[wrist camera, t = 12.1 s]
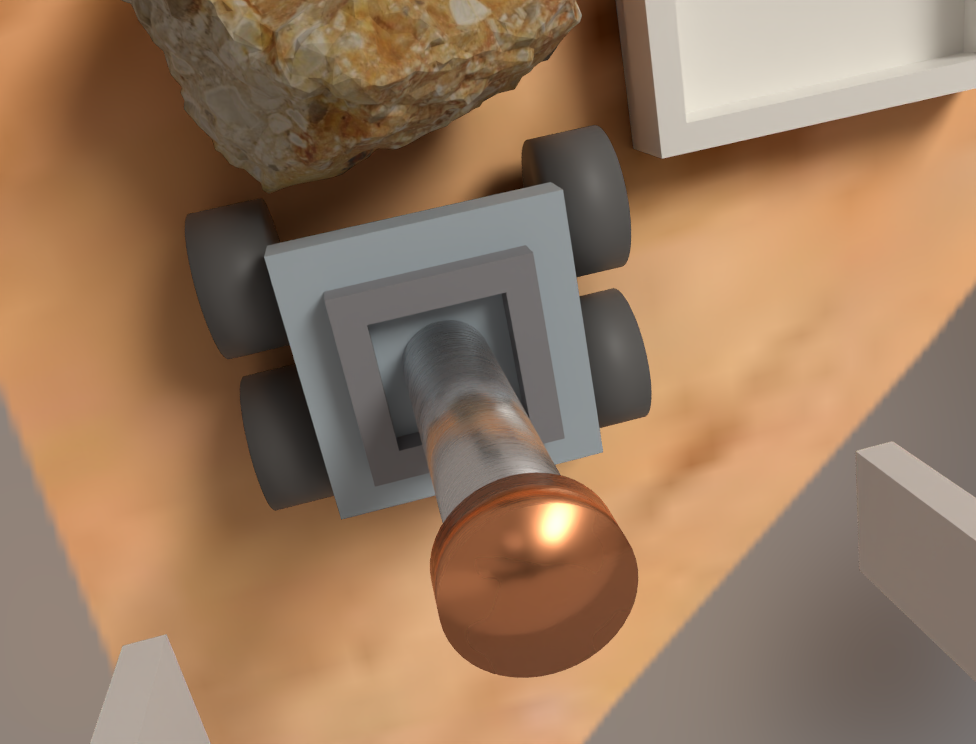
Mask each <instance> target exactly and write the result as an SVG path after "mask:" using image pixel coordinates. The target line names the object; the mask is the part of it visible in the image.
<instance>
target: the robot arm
mask: <svg viewBox="0 0 976 744" xmlns="http://www.w3.org/2000/svg"><path fill="white" fill-rule="evenodd" d="M856 478H857V479H856V481H857V511H858V540H859V570H860V571H861V572H862V573H863V574H864V575H865V576H866V577H867V578H868V579H869V580H870V581H871V582H872V583H873V584H874V585H875V586H876V587H877V588H878V589H879V590H881V591H882V592H883V593H884V594H885V595H886V596H887V597H888V598H889V599H890V600H891V601H892V602H893V603H894V604H895V605H896V606H897V607H898V608H899V609H900V610H901V611H902V612H903V613H904V614H906V616H908V617H909V618H910V619H911V620H912V621H913V622H914V623H915V624H916V625H917V626H918V627H919V628H920V629H921V630H922V631H923V632H924V633H925V634H926V635H927V636H928V637H929V638H931V640H933V641H934V642H935V643H936V644H937V645H938V646H939V647H940V648H941V649H942V650H943V651H944V652H945V653H946V654H947V655H948V656H949V657H950V658H951V659H952V660H953V661H954V662H955V663H957V665H959V666H960V667H961V668H962V669H963V670H964V671H965V672H966V673H967V674H968V675H969V676H970V677H971V678H972V679H973V680H974V681H976V498H975V497H974V496H972V495H971V494H969V493H968V492H966V491H965V490H963V489H961V488H960V487H959V486H957V485H956V484H954V483H953V482H952V481H950V480H949V479H947V478H946V477H944V476H943V475H941V474H940V473H938V472H937V471H935V470H934V469H932V468H931V467H929V466H928V465H926V464H925V463H924V462H922V461H921V460H919V459H918V458H916V457H915V456H913V455H912V454H910V453H909V452H907V451H906V450H904V449H903V448H901V447H900V446H899V445H897V444H896V443H894V442H888V443H884V444H881V445H877V446H873V447H869V448H865V449H862V450H858V451H856ZM90 744H211V743H210V741H209V738H208V736H207V733H206V731H205V729H204V726H203V724H202V721H201V719H200V716H199V714H198V711H197V709H196V706H195V704H194V701H193V699H192V696H191V694H190V691H189V689H188V686H187V684H186V681H185V679H184V676H183V674H182V671H181V669H180V666H179V664H178V662H177V659H176V657H175V654H174V652H173V649H172V647H171V644H170V642H169V639H168V637H167V634H165V635H162V636H158V637H154V638H150V639H147V640H143V641H139V642H135V643H132V644H128V645H124V646H122V649H121V652H120V655H119V658H118V661H117V664H116V667H115V670H114V673H113V676H112V679H111V682H110V685H109V688H108V691H107V694H106V697H105V700H104V703H103V706H102V709H101V712H100V715H99V718H98V721H97V724H96V727H95V730H94V733H93V736H92V739H91V742H90Z"/></svg>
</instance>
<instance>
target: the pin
mask: <svg viewBox="0 0 976 744" xmlns="http://www.w3.org/2000/svg"><path fill="white" fill-rule="evenodd" d="M402 367H403V373H404V377H405V381H406V385H407V389H408V392H409V396H410V400H411V404H412V408H413V411H414V415H415V419H416V423H417V427H418V430H419V434H420V438H421V442H422V446H423V450H424V453H425V457H426V461H427V465H428V469H429V472H430V476H431V480H432V484H433V488H434V491H435V495H436V499H437V503H438V507H439V510H440V514H441V518H442V522H443V524H442V526H441V527H440V530H439V532H438V534H437V536H436V538H435V541H434V544H433V548H432V552H431V558H430V574H431V581H432V586H433V590H434V595H435V600H436V604H437V609H438V614H439V618H440V622H441V625H442V628H443V631H444V633H445V635H446V637H447V639H448V641H449V642H450V644H451V645H452V646H453V648H454V649H455V650H456V651H457V652H458V653H459V654H460V655H461V656H462V657H463V658H464V659H466V660H467V661H469V662H470V663H471V664H473V665H475V666H477V667H479V668H480V669H483V670H485V671H488V672H490V673H493V674H498V675H502V676H508V677H526V678H529V677H538V676H544V675H549V674H554V673H557V672H560V671H563V670H566V669H568V668H571V667H573V666H575V665H577V664H579V663H581V662H583V661H585V660H586V659H588V658H590V657H591V656H592V655H594V654H595V653H597V652H598V651H599V650H601V649H602V648H603V647H604V646H605V645H606V644H607V643H609V641H610V640H611V639H612V638H613V637H614V636H615V635H616V634H617V633H618V631H619V630H620V628H621V627H622V626H623V624H624V623H625V621H626V619H627V617H628V615H629V614H630V611H631V609H632V606H633V604H634V601H635V597H636V593H637V587H638V568H637V563H636V558H635V555H634V553H633V550H632V548H631V546H630V544H629V542H628V540H627V539H626V537H625V535H624V534H623V532H622V531H621V529H620V527H619V526H618V524H617V522H616V521H615V519H614V518H613V516H612V514H611V513H610V511H609V509H608V508H607V506H606V505H605V504H604V502H603V501H602V500H601V499H600V497H598V496H597V495H596V494H595V493H594V492H593V491H592V490H591V489H589V488H588V487H586V486H585V485H583V484H581V483H579V482H577V481H575V480H573V479H570V478H567V477H564V476H561V475H560V473H559V471H558V470H557V468H556V466H555V464H554V462H553V461H552V459H551V457H550V455H549V453H548V452H547V450H546V448H545V446H544V444H543V443H542V441H541V439H540V437H539V435H538V434H537V432H536V430H535V428H534V426H533V425H532V423H531V421H530V419H529V417H528V416H527V414H526V412H525V410H524V408H523V407H522V405H521V403H520V401H519V399H518V397H517V396H516V394H515V392H514V390H513V388H512V387H511V385H510V383H509V381H508V379H507V378H506V376H505V374H504V372H503V370H502V369H501V367H500V365H499V363H498V361H497V360H496V358H495V356H494V354H493V352H492V351H491V349H490V347H489V345H488V343H487V342H486V340H485V338H484V337H483V335H482V334H481V333H480V332H479V331H478V330H477V329H475V328H474V327H473V326H471V325H469V324H467V323H464V322H461V321H457V320H442V321H437V322H433V323H431V324H429V325H427V326H425V327H423V328H422V329H420V330H419V331H418V332H417V333H416V334H415V335H414V336H413V337H412V338H411V339H410V341H409V343H408V344H407V346H406V348H405V351H404V355H403V361H402Z"/></svg>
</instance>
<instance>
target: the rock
mask: <svg viewBox="0 0 976 744" xmlns="http://www.w3.org/2000/svg"><path fill="white" fill-rule="evenodd" d="M122 1H125V2H127V3H130V4H132V7H133V9H134V11H135V13H136V16H137V18H138V20H139V22H140V23H141V24H142V26H143V27H144V28H145V30H146V31H147V32H148V34H149V35H150V36H151V39H152V41H153V42H154V43H155V44H156V45H157V46H158V47H159V48H160V49H162V50H163V51H164V54H165V57H166V61H167V64H168V67H169V70H170V73H171V75H172V76H173V78H174V79H175V80H176V81H177V82H178V83H179V84H180V85H181V87H182V90H181V95H182V96H183V98H184V100H185V102H184V110H185V111H186V112H187V113H188V114H189V115H190V117H191V118H192V119H193V120H194V121H195V122H196V124H197V125H198V126H199V127H200V128H201V129H202V130H203V131H204V132H205V133H206V134H207V135H208V136H210V137H211V138H212V141H213V144H214V147H215V150H216V151H218V152H220V153H222V154H223V155H224V157H225V158H226V159H227V161H228V162H229V163H230V164H231V165H233V166H235V167H237V168H242V169H245V170H246V171H247V172H248V173H249V174H251V175H252V176H253V177H254V178H255V179H256V180H258V181H259V182H261V185H262V189H263V190H264V191H265V192H267V193H268V194H270V193H272V192H275V191H277V190H280V189H282V188H285V187H288V186H292V185H296V184H301V183H305V182H311V181H317V180H323V179H328V178H331V177H335V176H338V175H341V174H343V173H344V172H346V171H347V170H349V169H350V168H351V167H353V166H354V165H355V164H356V163H359V162H361V161H362V160H364V159H366V158H368V157H369V156H370V155H371V154H372V153H373V152H374V151H375V150H377V149H379V148H385V149H398V148H400V147H403V146H405V145H407V144H409V143H411V142H413V141H414V140H416V139H418V138H420V137H422V136H423V135H425V134H427V133H429V132H431V131H434V130H437V129H440V128H443V127H445V126H447V125H448V124H449V123H450V122H451V121H453V120H455V119H457V118H459V117H461V116H463V115H465V114H466V113H468V112H470V111H471V110H473V109H475V108H477V107H480V105H481V104H482V102H483V101H485V100H487V99H489V98H490V97H492V96H494V95H496V94H497V93H501V92H505V91H509V90H513V89H515V88H516V86H517V85H518V83H519V81H520V79H521V78H522V76H524V75H526V74H527V73H529V72H531V70H532V69H533V67H534V66H536V65H537V64H539V63H540V62H542V61H546V60H548V59H549V58H550V56H551V55H552V54H553V52H554V51H555V49H556V48H557V46H558V44H559V43H560V42H561V40H562V39H563V38H564V37H565V36H566V35H567V34H568V32H569V31H570V30H571V29H572V28H573V27H574V26H576V25H577V24H578V23H579V22H580V20H581V17H582V15H581V12H580V9H579V7H578V4H577V1H576V0H122Z"/></svg>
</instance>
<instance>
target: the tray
mask: <svg viewBox="0 0 976 744" xmlns="http://www.w3.org/2000/svg"><path fill="white" fill-rule="evenodd" d="M616 9H617V17H618V25H619V34H620V42H621V50H622V59H623V67H624V76H625V84H626V92H627V101H628V109H629V117H630V126H631V134H632V142H633V149H635V150H638V151H641V152H644V153H647V154H650V155H653V156H656V157H659V158H662V159H663V158H667V157H672V156H676V155H681V154H685V153H689V152H694V151H698V150H703V149H707V148H712V147H716V146H721V145H725V144H730V143H734V142H738V141H743V140H747V139H752V138H756V137H761V136H765V135H770V134H774V133H779V132H783V131H787V130H792V129H796V128H801V127H805V126H810V125H814V124H819V123H823V122H828V121H832V120H836V119H841V118H845V117H850V116H854V115H859V114H863V113H868V112H872V111H877V110H881V109H885V108H890V107H894V106H899V105H903V104H908V103H912V102H917V101H921V100H926V99H930V98H934V97H939V96H943V95H948V94H952V93H957V92H961V91H966V90H970V89H975V88H976V0H616Z"/></svg>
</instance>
